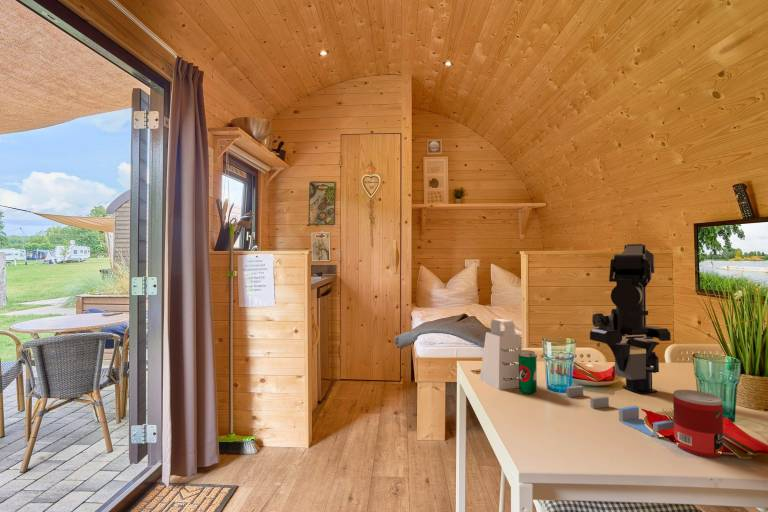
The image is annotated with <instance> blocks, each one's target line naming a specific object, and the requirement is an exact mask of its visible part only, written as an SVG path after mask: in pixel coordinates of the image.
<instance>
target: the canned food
mask: <svg viewBox="0 0 768 512" xmlns="http://www.w3.org/2000/svg"><path fill="white" fill-rule="evenodd" d="M672 397H673V401H672V402H673V421H674V436H673V438H674V437H675V439H676V440H678V441H679V442H680V443H679V444H678V446H677V448H679V449H680V450H682V451H684V452H686V453H689V454H691V455H696V456H699V457H700V456H701V457H706V458H719V457H721V456H722V455H721V454H720V453H718V451H720V450H722V449H723V450H724V416H723V415H724V407H723V405H724V404H723V399H722V398H721V397H719V396H718V395H715V394H712V393H709V392H705V391H701V390H700V391H699V390H693V389H676V390H674V391H673V396H672Z"/></svg>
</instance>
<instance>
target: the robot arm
mask: <svg viewBox="0 0 768 512" xmlns="http://www.w3.org/2000/svg"><path fill="white" fill-rule="evenodd" d="M646 246H647V245H646V244H643V243H628V244H624V248H623V249H624V251H622V252H621V253H617V254H614V255H613V258H611V259H610V263H609V264H610V267H609V275H608V276H609V277H608V281H609V282H611V283H612V282H613V283H616V284H615V285H616V286H614V287H613V288H612V289H611V292H610V299H611V302H612V303H613V304H614V306H615V308H611V311H610V315H609V314H608V315H604V314H603V313H593V314H592V319H591V321H592V325H593V328H592V329H591V330H590V331H589V340H590V341H595V342H597V343H602V344H605V345H607V346H608V347H609V349H610V350H611V352H612V354H613V357H614V360H615V359H616V362H617V364H618V367H619V369H620V371H625V368H626V365H627V360H628V355H629V350H630V346H635V347H639V348H643V349H646V379H636V380H629V379H626V378H625V385H622V386H621V387H622V388H623V389H626V390H628V391H632V392H634V393H637V394H639V395H644V394H653V393H657V392H658V390H657V389H655V388H653V374H656V373H660V365H659V364H660V363H659V362H660V361H659V359H660V358H659V356H658V355H657V353H656V351H654V350H655V348H656V347H657V346H659V345H660V342H670V341H671V332H670V331H669V329H668V328H666V327H660V326H655V325H654V326H653V325H647V316H649V310H647V298H646V297H647V292H646V291H647V289H646V287H647V286H648V284H649V283H650V282H651V280H652V278H653V275H652V274H655V255H654V253H652V252H650V251H649V250H648V249H647V248H646ZM655 339H658V340H659V341H655Z"/></svg>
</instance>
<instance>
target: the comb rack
mask: <svg viewBox="0 0 768 512" xmlns="http://www.w3.org/2000/svg"><path fill="white" fill-rule="evenodd" d="M565 389H566V390H565V396H566V398H567V397H568V398H572V397H581V396H584V386H582V385H574V386H566V388H565ZM589 399H590V408H591V409H593V410H594V409H599V408H607V407H609V405H610V403H609V402H610V400H609V399H610V398H609V396H606V395H601V396H594V397H593V396H592V397H589ZM644 420H645V419H642V418H640V407H638V406H636V405H632V406H631V405H630V406H624V407H618V421H619V422H621V424H623V425H626V426H628V427H630V428H633V429H634V430H636V431H639V432H642V433H644V434H646V435H648V436H650V437H654V438H656V439H660V438H659V435H658V434H657V433H656V432H655V431H657V432H658V431H661V430H667V429H673V428H674V420H671V419H669V420H662V421H655V422H652V424H653V433H652V432H651V431H650V430H649V429H648V428H647V427H646V426H645V423H644Z"/></svg>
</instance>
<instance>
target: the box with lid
mask: <svg viewBox="0 0 768 512" xmlns="http://www.w3.org/2000/svg"><path fill="white" fill-rule="evenodd" d="M614 375H615V376H617V377H621V378H623V379H625V380H626V379H629V380H636V379H646V349H643V348H639V347H635V346H630V350H629V355H628V360H627V365H626V368H625V371H620V369H619V367H618V364H617V362H616V359H615V358H614Z"/></svg>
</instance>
